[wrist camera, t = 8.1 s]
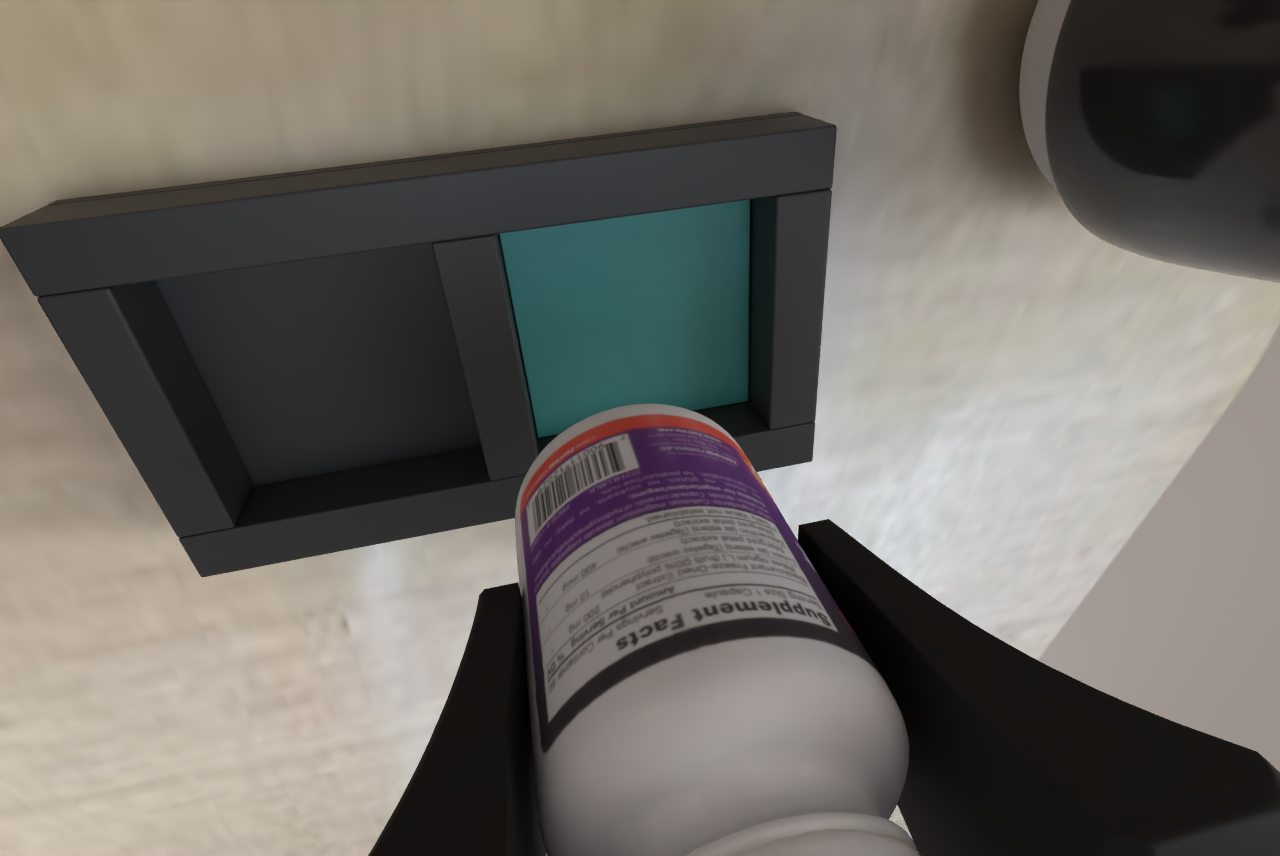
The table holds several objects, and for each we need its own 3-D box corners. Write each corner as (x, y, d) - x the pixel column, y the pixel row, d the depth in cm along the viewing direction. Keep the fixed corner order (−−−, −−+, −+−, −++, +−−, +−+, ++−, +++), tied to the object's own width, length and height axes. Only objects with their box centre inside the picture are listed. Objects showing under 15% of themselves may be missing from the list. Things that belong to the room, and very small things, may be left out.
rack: (783, 422, 24) (813, 462, 22) (227, 523, 21) (200, 578, 19) (797, 111, 18) (837, 124, 16) (55, 200, 16) (-8, 229, 14)
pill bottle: (724, 582, 17) (942, 1088, 9) (509, 593, 16) (544, 1193, 8) (772, 395, 15) (1139, 879, 7) (517, 391, 13) (582, 989, 5)
